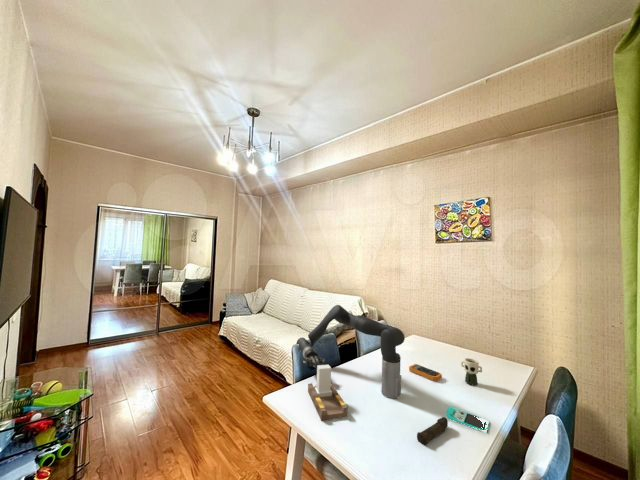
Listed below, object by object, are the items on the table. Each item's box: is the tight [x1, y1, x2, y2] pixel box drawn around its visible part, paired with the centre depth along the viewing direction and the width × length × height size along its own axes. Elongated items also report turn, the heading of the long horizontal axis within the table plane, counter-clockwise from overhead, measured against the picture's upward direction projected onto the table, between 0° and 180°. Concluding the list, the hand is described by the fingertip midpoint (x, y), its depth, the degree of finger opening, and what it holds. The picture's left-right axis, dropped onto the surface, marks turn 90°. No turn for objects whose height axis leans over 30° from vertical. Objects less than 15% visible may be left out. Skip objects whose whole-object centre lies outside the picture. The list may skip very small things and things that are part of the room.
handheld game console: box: [446, 406, 489, 430], centre depth 116 cm, size 10×16×1 cm, turn 52°
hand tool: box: [416, 416, 449, 446], centre depth 105 cm, size 19×4×5 cm, turn 123°
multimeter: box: [408, 363, 443, 383], centre depth 159 cm, size 9×18×3 cm, turn 39°
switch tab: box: [314, 364, 332, 397], centre depth 130 cm, size 6×7×13 cm
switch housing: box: [307, 382, 349, 422], centre depth 124 cm, size 24×12×4 cm, turn 16°
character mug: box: [460, 357, 483, 386], centre depth 150 cm, size 11×7×13 cm, turn 43°
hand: (318, 367), depth 140 cm, fingers closed
